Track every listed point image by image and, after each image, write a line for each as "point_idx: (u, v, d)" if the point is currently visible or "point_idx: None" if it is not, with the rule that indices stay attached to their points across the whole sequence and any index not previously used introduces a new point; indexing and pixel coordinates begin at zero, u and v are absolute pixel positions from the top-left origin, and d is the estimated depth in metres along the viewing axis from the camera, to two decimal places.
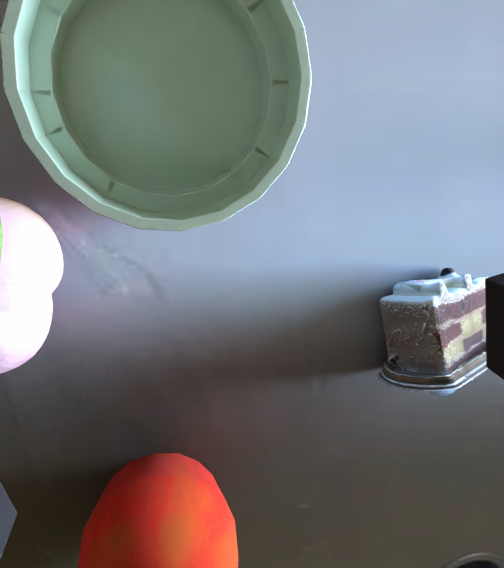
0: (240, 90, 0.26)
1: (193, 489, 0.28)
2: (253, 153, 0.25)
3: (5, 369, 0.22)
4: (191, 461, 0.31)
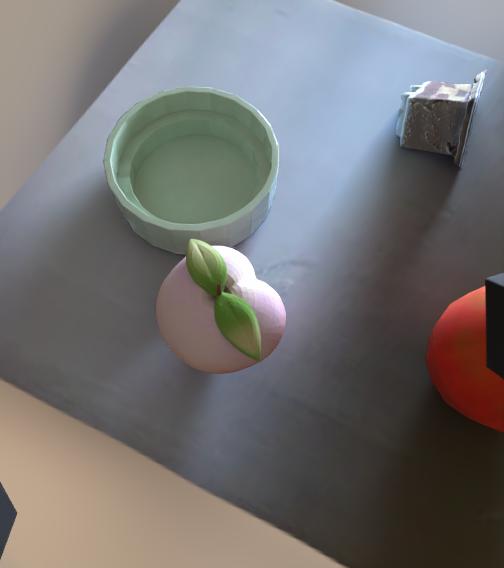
0: (222, 151, 0.42)
1: (465, 296, 0.32)
2: (255, 150, 0.39)
3: (279, 314, 0.29)
4: None
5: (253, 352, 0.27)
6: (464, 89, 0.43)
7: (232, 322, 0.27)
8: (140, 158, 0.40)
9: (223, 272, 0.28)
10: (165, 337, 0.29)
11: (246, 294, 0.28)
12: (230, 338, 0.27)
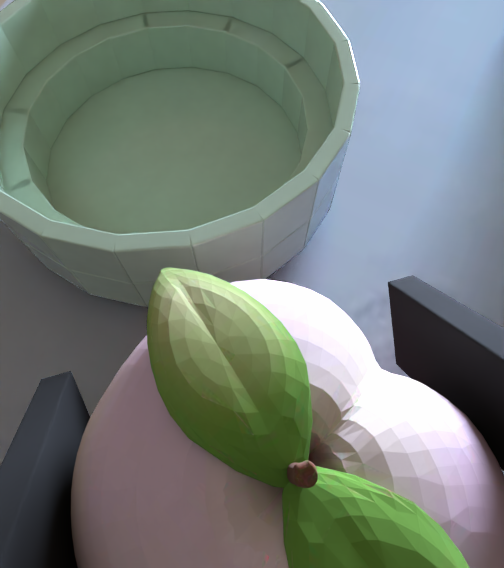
0: (219, 92, 0.21)
1: None
2: (290, 70, 0.19)
3: None
4: None
5: None
6: None
7: None
8: (54, 117, 0.19)
9: (299, 383, 0.07)
10: None
11: (403, 464, 0.07)
12: None
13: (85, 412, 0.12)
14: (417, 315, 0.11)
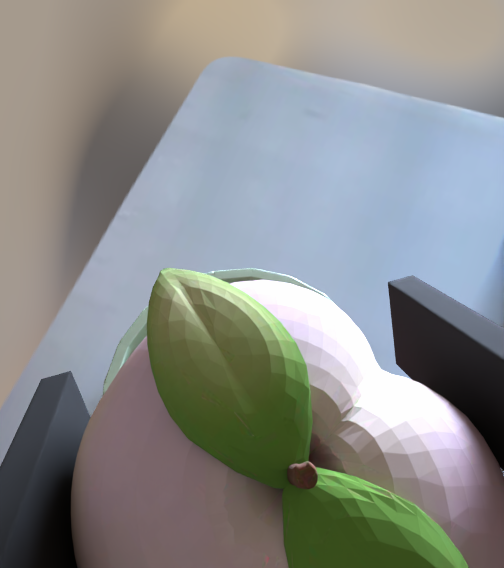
0: None
1: None
2: None
3: None
4: None
5: None
6: None
7: None
8: None
9: (300, 384, 0.07)
10: None
11: (404, 464, 0.07)
12: None
13: (85, 412, 0.12)
14: (417, 315, 0.11)
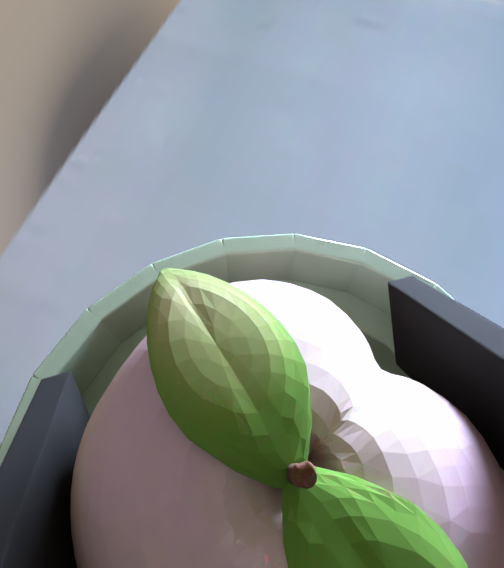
0: None
1: None
2: None
3: None
4: None
5: None
6: None
7: None
8: None
9: (299, 383, 0.07)
10: None
11: (402, 464, 0.07)
12: None
13: (85, 412, 0.12)
14: (417, 315, 0.11)
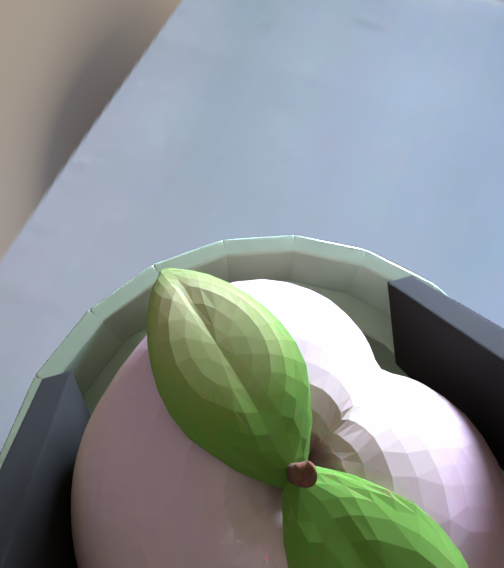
0: None
1: None
2: None
3: None
4: None
5: None
6: None
7: None
8: None
9: (299, 383, 0.07)
10: None
11: (403, 463, 0.07)
12: None
13: (86, 411, 0.12)
14: (416, 314, 0.11)
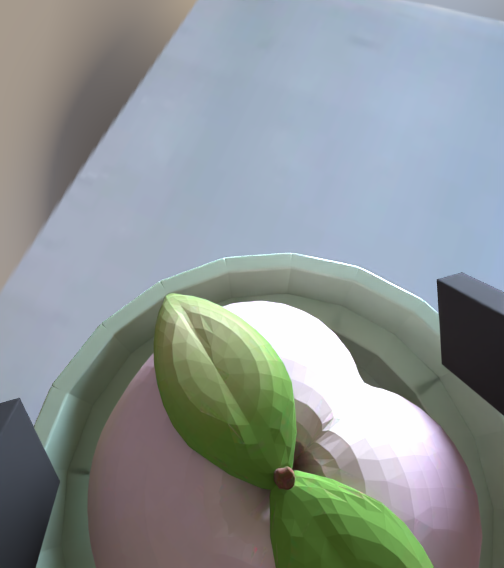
0: None
1: None
2: (424, 399, 0.15)
3: (475, 505, 0.09)
4: None
5: None
6: None
7: None
8: None
9: (285, 399, 0.08)
10: None
11: (374, 468, 0.08)
12: None
13: (36, 441, 0.11)
14: (474, 313, 0.11)
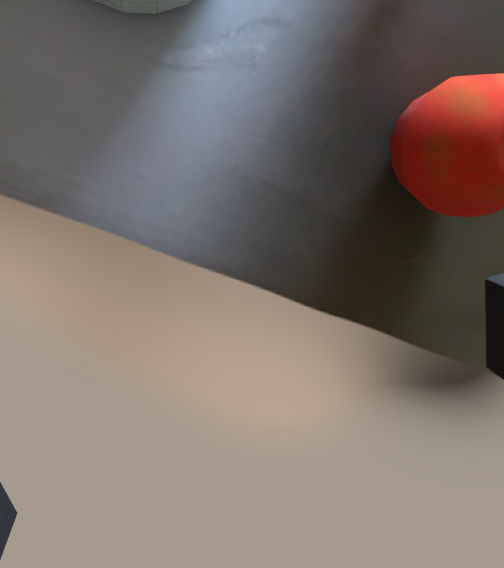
0: None
1: (445, 85, 0.31)
2: None
3: None
4: None
5: None
6: None
7: None
8: None
9: None
10: None
11: None
12: None
13: None
14: None
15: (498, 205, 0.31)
